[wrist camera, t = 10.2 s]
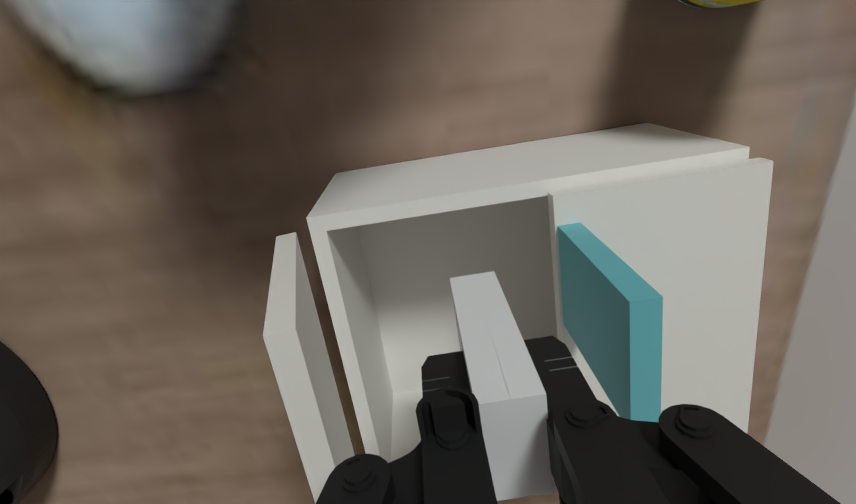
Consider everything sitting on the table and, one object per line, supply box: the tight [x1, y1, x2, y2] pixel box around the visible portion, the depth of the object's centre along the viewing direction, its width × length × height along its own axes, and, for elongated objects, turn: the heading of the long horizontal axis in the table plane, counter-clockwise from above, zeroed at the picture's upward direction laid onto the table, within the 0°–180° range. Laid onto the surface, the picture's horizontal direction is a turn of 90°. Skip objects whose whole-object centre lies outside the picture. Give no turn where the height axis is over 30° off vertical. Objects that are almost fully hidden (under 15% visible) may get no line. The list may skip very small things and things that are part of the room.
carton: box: [306, 123, 749, 495], centre depth 24 cm, size 16×16×8 cm
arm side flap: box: [263, 232, 355, 504], centre depth 16 cm, size 8×13×7 cm
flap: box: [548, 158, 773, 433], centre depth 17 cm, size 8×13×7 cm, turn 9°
